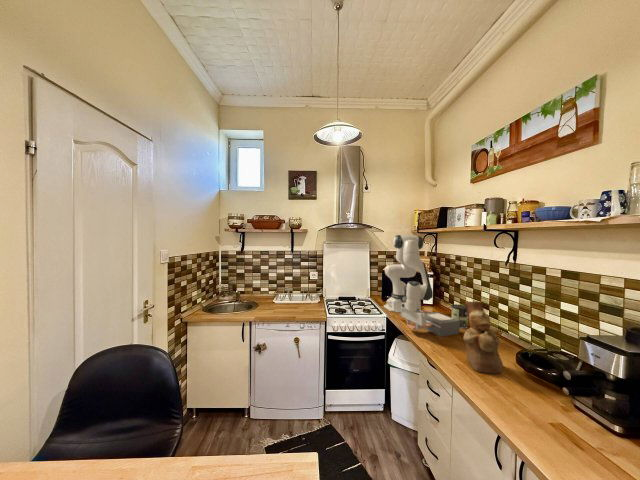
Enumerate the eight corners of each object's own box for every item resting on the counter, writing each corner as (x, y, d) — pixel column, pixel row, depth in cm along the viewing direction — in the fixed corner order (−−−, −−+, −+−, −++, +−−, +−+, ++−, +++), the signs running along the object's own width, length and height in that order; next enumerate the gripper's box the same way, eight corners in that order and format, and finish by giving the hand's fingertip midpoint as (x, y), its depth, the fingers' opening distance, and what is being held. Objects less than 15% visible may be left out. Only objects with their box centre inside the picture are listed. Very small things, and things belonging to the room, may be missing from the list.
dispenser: (417, 326, 174) (418, 314, 174) (436, 323, 180) (436, 311, 180) (439, 337, 156) (439, 323, 156) (459, 333, 162) (459, 320, 162)
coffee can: (468, 325, 177) (469, 306, 177) (466, 329, 169) (467, 309, 169) (452, 322, 183) (452, 303, 183) (449, 326, 175) (450, 306, 175)
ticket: (407, 326, 163) (407, 324, 163) (431, 323, 170) (431, 321, 170) (413, 329, 158) (413, 327, 158) (437, 326, 165) (437, 324, 165)
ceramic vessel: (473, 373, 115) (474, 309, 114) (454, 351, 137) (455, 297, 136) (510, 376, 113) (512, 311, 112) (485, 354, 134) (486, 299, 134)
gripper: (429, 311, 152) (428, 333, 152) (406, 302, 171) (406, 322, 172) (421, 312, 150) (420, 334, 150) (399, 303, 169) (398, 323, 169)
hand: (412, 328), depth 161 cm, fingers closed on ticket, 5 cm apart
